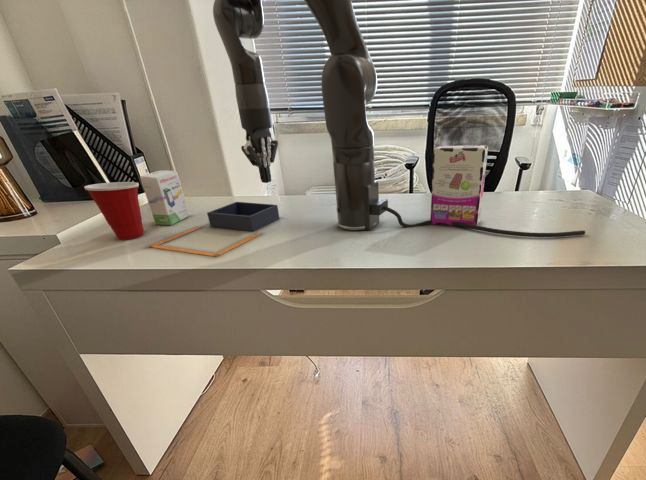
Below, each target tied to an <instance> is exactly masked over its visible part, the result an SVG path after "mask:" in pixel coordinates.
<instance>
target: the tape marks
mask: <svg viewBox="0 0 646 480" xmlns="http://www.w3.org/2000/svg"><path fill="white" fill-rule="evenodd" d="M199 229H201V227H199V226H196V227H194V228H191V229H189V230H186V231H184V232H181V233H178V234H176V235H174V236H171V237H168V238H165V239H164V240H162V241H159V242H156V243H154V244H151V245H148V248H152V249H153V248H154V249H160V250H167V251H174V252H181V253H188V254H195V255H201V256H208V257H214V258H215V257H216V258H218V257H219V256H221V255H223V254H226V253H228V252H230V251H231V250H233V249H236V248H237V247H239V246H241V245H243V244H245V243H247V242H249V241H251V240H253V239H255V238H257V237H258V236H260V235H261V234H260V233H255V234H252V235H251V236H249V237H247V238H244V239H243V240H240V241H239V242H237V243H235V244H233V245H230V246H229V247H227V248H225V249H223V250H221V251H219V252H217V253H213V252H206V251H199V250H193V249H192V250H191V249H185V248H178V247H170V246H163V244H165V243H167V242H169V241H170V242H171V241H172V240H175V239H177V238H180V237H182V236H185V235H187V234H189V233H192V232H194V231H197V230H199Z"/></svg>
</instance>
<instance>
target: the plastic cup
mask: <svg viewBox="0 0 646 480" xmlns="http://www.w3.org/2000/svg"><path fill="white" fill-rule="evenodd" d="M139 186H140V184H139V182H134V181H114V182H101V183H94V184H88V185H85V186H83V187H84V189H85V191H87V192H88V194H89V195H90V197H91V198H92V200H93V202H94V203H95V204H96V206H97V208H98V209H99V211H100V212H101V214H102V216H103V217H104V219H105V221H106V222H107V224H108V226H109V227H110V228H111V230H112V231H113V233H114V235H115V236H116V237H117V239H118V240H123V241H125V240H132V239H138V238H140V237H142V236H144V235H145V233H144V232H145V231H144V230H145V229H144V225H143V221H142V220H143V219H142V212H141V207H140V202H139V201H140V200H139V191H138V190H139Z"/></svg>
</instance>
